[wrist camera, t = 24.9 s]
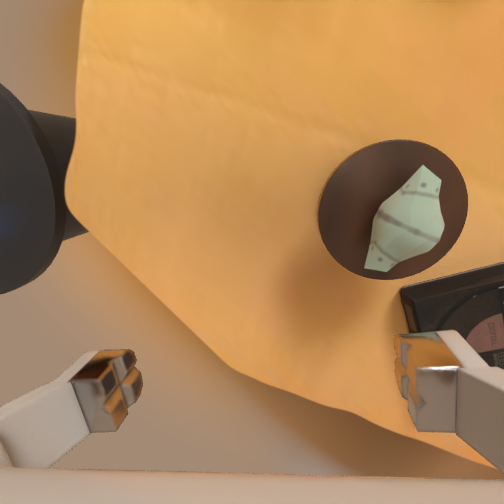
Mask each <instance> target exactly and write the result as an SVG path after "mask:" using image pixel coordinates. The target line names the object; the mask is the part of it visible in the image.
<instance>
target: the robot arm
mask: <svg viewBox="0 0 504 504" xmlns="http://www.w3.org/2000/svg"><path fill="white" fill-rule="evenodd" d="M394 349H395V351H396V353H397V355H398V358H397V359H396V360H395V374H396V379H397V384H398V387H399V390H400V392H401V395H402V397H403V398H404V399H406V400H407V401H408V411H409V413H410V416H411V418H412V420H413V422H414V425H415V427H416V429H417V431H418V432H447V433H456V435H457V436H458V437H460V438H461V439H462V440H463V441H465V442H466V443H467V444H468V445H469V446H471V447H472V448H473V449H474V450H475V451H477V452H478V453H479V454H480V455H482V456H483V457H484V458H485V459H486V460H488V461H489V462H490V463H491V464H492V465H494V466H495V467H496V468H497V469H499V470H500V471H501V472H502V473H503V474H504V370H503V369H501V368H499V367H490V366H489V365H488V364H487V363H486V362H485V361H484V360H483V359H482V358H481V357H480V356H479V355H478V353H477V352H476V351H475V350H474V349H473V348H472V347H471V346H470V345H469V344H468V343H467V342H466V341H465V340H464V339H463V337H462V336H461V335H460V334H459V333H458V332H457V331H455V330H444V331H433V332H422V333H410V334H398V335H394ZM136 361H137V359H136V356H135V354H134V352H133V351H132V350H130V349H120V350H96V351H88V352H85V353H84V354H83V355H82V356H81V357H80V358H79V359H78V360H76V361H75V362H74V363H73V364H72V365H71V366H70V367H68V368H67V369H66V370H65V371H64V372H63V373H62V374H61V375H60V376H58V377H57V378H56V379H55V380H54V381H53V382H52V383H46V384H44V385H42V386H40V387H38V388H36V389H34V390H32V391H30V392H28V393H26V394H24V395H22V396H20V397H18V398H16V399H14V400H12V401H10V402H8V403H6V404H4V405H2V406H0V504H504V480H490V479H451V478H450V479H449V478H412V477H410V478H409V477H373V476H372V477H370V476H334V475H331V476H330V475H294V474H255V473H219V472H181V471H144V470H141V471H140V470H102V469H97V470H96V469H60V468H50V467H51V466H52V465H53V464H54V463H56V462H57V461H58V460H59V459H61V458H62V457H63V456H64V455H65V454H67V453H68V452H69V451H70V450H72V449H73V448H74V447H75V446H77V445H78V444H79V443H80V442H81V441H83V440H84V439H85V438H86V437H88V436H89V435H90V433H96V432H116V431H117V430H118V428H119V427H120V425H121V424H122V422H123V421H124V419H125V418H126V416H127V415H128V408H129V407H130V406H131V405H133V404H134V403H135V402H136V401H137V400H138V398H139V396H140V394H141V391H142V387H143V382H142V375H141V372H140V371H139V370H138V369H137V368H136V367H135V364H136Z"/></svg>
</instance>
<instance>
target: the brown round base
mask: <svg viewBox="0 0 504 504" xmlns="http://www.w3.org/2000/svg"><path fill="white" fill-rule="evenodd" d="M422 165H424V166H425V167H426V168H427V169H429V170H430V171H431V172H432V173H433V174H435V175H436V176H437V177H438V178H439V179H441V180H442V181H441V186H440V191H439V203H440V210H441V214H442V217H443V221H444V224H445V225H444V230H443V233H442V236H441V239H440V241H439V242H438V243H437V244H436V245H435V246H434V247H433V248H432V249H431V250H430V251H428V252H426V253H423V254H420V255H417V256H414V257H411V258H409V259H406V260H403V261H401V262H398V263H397V264H396V265H395V266H393V267H392V268H391V269H390V270H389V271H387V272H384V271H378V270H372V269H367V268H364V267H365V263H366V258H367V254H368V250H369V246H370V241H371V234H372V225H373V219H374V217H375V215H376V213H377V211H378V209H379V207H380V206H381V204H382V203H383V202H384V201H385V200H387V199H388V198H389V197H391V196H392V195H393V194H394V193H395V192H397V191H398V190H399V189H400V188H401V187H402V186H403V185H404V184H405V183H406V182H407V181H408V180H409V179H410V178H411V177H412V176H413V175H414V174H415V172H416V171H417V170H418V169H419V168H420V167H421V166H422ZM467 210H468V194H467V189H466V185H465V182H464V179H463V177H462V175H461V173H460V171H459V169H458V168H457V167H456V165H455V164H454V163H453V161H452V160H451V159H450V158H448V157H447V156H446V155H445V154H444V153H442V152H441V151H439V150H438V149H436V148H434V147H432V146H430V145H428V144H425V143H422V142H418V141H412V140H388V141H383V142H379V143H375V144H371V145H369V146H366V147H364V148H362V149H360V150H358V151H356V152H354V153H353V154H351V155H350V156H348V157H347V158H346V159H345V160H343V161H342V162H341V163H340V164H339V165H338V166H337V167H336V168H335V169H334V171H333V172H332V173H331V175H330V176H329V178H328V179H327V181H326V183H325V185H324V187H323V189H322V192H321V195H320V198H319V203H318V211H317V216H318V226H319V230H320V234H321V237H322V240H323V242H324V244H325V246H326V248H327V250H328V251H329V253H330V254H331V255H332V256H333V258H334V259H335V260H336V261H337V262H338V263H340V264H341V265H342V266H343V267H345V268H346V269H348V270H349V271H351V272H353V273H355V274H357V275H360V276H363V277H367V278H371V279H379V280H393V279H400V278H405V277H408V276H412V275H414V274H417V273H420V272H422V271H424V270H425V269H427V268H429V267H431V266H432V265H434V264H435V263H437V262H438V261H439V260H440V259H441V258H442V257H444V256H445V255H446V253H447V252H448V251H449V250H450V249H451V248H452V247H453V245H454V244H455V242H456V241H457V239H458V237H459V236H460V234H461V232H462V229H463V227H464V224H465V221H466V217H467Z"/></svg>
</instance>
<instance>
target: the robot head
mask: <svg viewBox="0 0 504 504" xmlns="http://www.w3.org/2000/svg"><path fill="white" fill-rule="evenodd" d="M441 181H442V180H441V179H439V178H438V177H437V176H436V175H435V174H433V173H432V172H431V171H430V170H429V169H427V168H426V167H425V166H424V165H422V166H421V167H420V168H419V169H418V170H417V171H416V172H415V174H414V175H413V176H412V177H411V178H410V179H409V180H408V181H407V182H406V183H405V184H404V185H403V186H402V187H401V188H400V189H399V190H398V191H397V192H395V193H394V194H393V195H392V196H391V197H389V198H388V199H387V200H385V201H384V202H383V203H382V204H381V206H380V207H379V209H378V211H377V213H376V215H375V217H374V219H373V225H372V234H371V241H370V246H369V250H368V254H367V258H366V263H365V267H364V268H367V269H372V270H378V271H384V272H387V271H389V270H390V269H391V268H392V267H393V266H395V265H396V264H397V263H398V262H401V261H403V260H406V259H409V258H411V257H414V256H417V255H420V254H423V253H426V252H428V251H430V250H431V249H432V248H433V247H434V246H435V245H436V244H437V243H438V242H439V241H440V239H441V236H442V233H443V230H444V225H445V224H444V221H443V217H442V214H441V210H440V203H439V191H440V186H441Z"/></svg>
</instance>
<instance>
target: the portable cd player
mask: <svg viewBox="0 0 504 504" xmlns="http://www.w3.org/2000/svg"><path fill="white" fill-rule="evenodd" d="M400 293H401V297H402V301H403V305H404V309H405V313H406V317H407V321H408V325H409V329H410V333H422V332H433V331H444V330H455V331H457V332H458V333H459V334H460V335H461V336H462V337H463V339H464V340H465V341H466V342H467V343H468V344H469V345H470V346H471V347H472V348H473V349H474V350H475V351H476V352H477V353H478V355H479V356H480V357H481V358H482V359H483V360H484V361H485V362H486V363H487V364H488V365H489V366H490V367H499V368H501V369H503V370H504V262H502V263H498V264H494V265H490V266H485V267H481V268H477V269H473V270H469V271H465V272H461V273H457V274H453V275H449V276H445V277H440V278H436V279H432V280H428V281H424V282H420V283H416V284H412V285H408V286H404V287H402V289H401V292H400Z"/></svg>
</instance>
